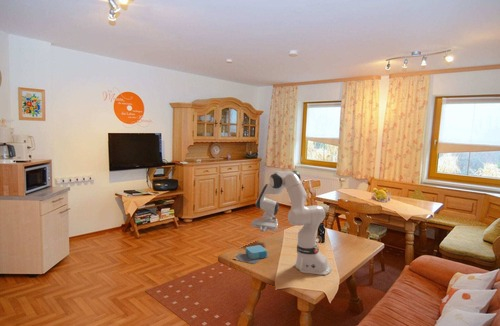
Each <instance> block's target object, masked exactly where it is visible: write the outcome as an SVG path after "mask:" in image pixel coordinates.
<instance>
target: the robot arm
mask: <svg viewBox="0 0 500 326" xmlns="http://www.w3.org/2000/svg"><path fill="white" fill-rule="evenodd" d="M284 188H285V189H286V192H287V195H288V197H289V200H290V203H291V206H290V209H289V211H288V212H287V220H288V222H289V224H290V225H291V226H295V227H296V226H298V227H299V226H302V227H301V228H300V230H299V231H298V232H297V245H296V252H297V256H296V261H295V263H294V265H295V266H294V267H295V268H296V269H298V270H299V272H300V273H304V274H312V275H320V276H327V275H328V274H330V273H331V272H332V264H329V262H328V258H327V256H325V255H323V254H322V253H321V252H320V251H319V250H320V246H317V243H316V242H317V241H316V240H317V239H316V238H317V233H318V232H317V231H318V229H319V227H320V225H321V223H322V222H323V221H324V220H325V219H326V210H325V209H324V207H323V206H321V205H318V204H317V205H307V206H305V202H306V200H307V199H308V193H307V192H306V189H305V187H304V184H303V183H302V179H301V174H300V173H299V172H298V171H297V170H290V171H288V170H287V171H282V170H275V171H274V172H273V174H271V175H270V177H269V183H266V184H265V185H264V187H263V188H262V190H261V192H260V194H259V196H258V197H257V199H256V200H255V206H256V208H257V209H258V210H263V211H264V213H263V215H262V217H261V218H254V219H253V220H252V221H251V227H252V228H257V229H259V230H260V232H266V231H268V230H269V231H274V232H276V231H278V228H279V227H278V222H279V221H278V218H277V217H275V216H276V215H277V213H278V211H279V209H280V205H279V202H278V201H275V200H273V199H270V198H267V197H266V195H279V194H281V193H282V192H283V191H284Z"/></svg>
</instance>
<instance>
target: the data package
mask: <svg viewBox="0 0 500 326" xmlns="http://www.w3.org/2000/svg"><path fill="white" fill-rule="evenodd" d="M245 254H246V255H247V256H248V257H250V258H251V259H258V258H261V259H263V258H267V257H268V250H267V249H266V248H265V247H263V246H262V245H260V244H258V245H252V246H247V247H245Z"/></svg>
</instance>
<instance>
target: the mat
mask: <svg viewBox="0 0 500 326" xmlns="http://www.w3.org/2000/svg"><path fill="white" fill-rule="evenodd" d="M234 257H236V258H237V259H238V261H237V262H243V263H248V264H252V265H256V264H257V263H258V261H260V260H261V259H262V258H258V259H251V258H250V257H248V256H247V255H246V253H242V252H239V253H238V254H236V255H235V256H234Z"/></svg>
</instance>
